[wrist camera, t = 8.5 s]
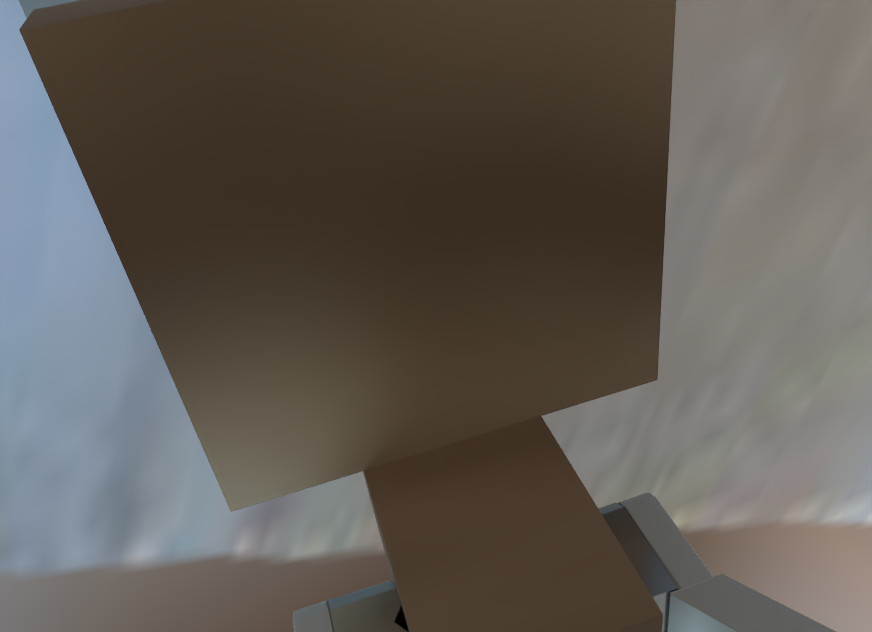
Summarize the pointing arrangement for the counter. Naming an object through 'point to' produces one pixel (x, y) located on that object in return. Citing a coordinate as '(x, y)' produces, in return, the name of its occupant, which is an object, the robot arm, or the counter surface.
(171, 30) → the tan stepped block
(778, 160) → the counter surface
